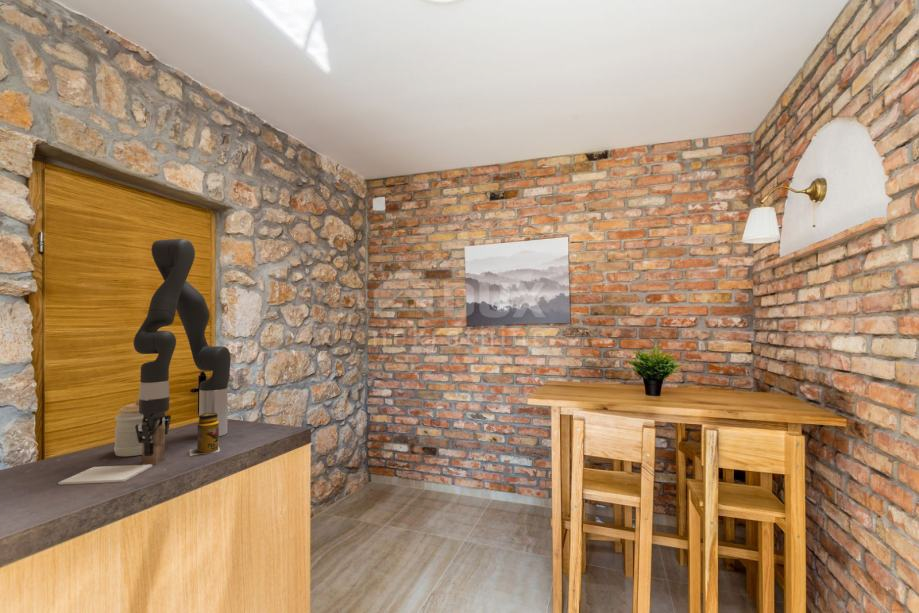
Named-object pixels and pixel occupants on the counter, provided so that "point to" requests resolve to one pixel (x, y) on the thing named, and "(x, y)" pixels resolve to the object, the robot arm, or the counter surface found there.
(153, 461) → the block
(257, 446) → the counter surface
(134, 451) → the jar
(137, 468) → the mat
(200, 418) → the condiment
